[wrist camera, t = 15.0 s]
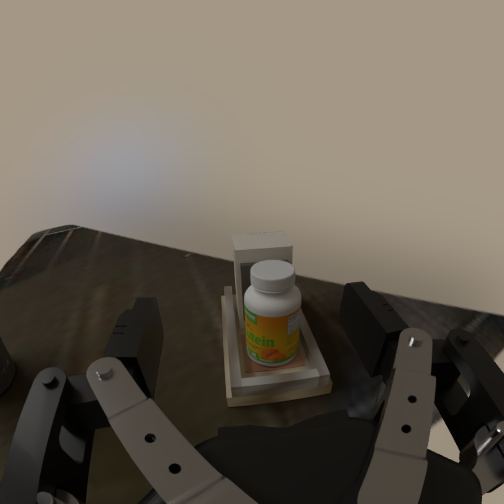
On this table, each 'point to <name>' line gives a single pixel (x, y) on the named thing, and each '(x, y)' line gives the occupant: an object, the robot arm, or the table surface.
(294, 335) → the supplement bottle
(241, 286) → the white padded block
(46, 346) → the table surface
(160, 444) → the robot arm
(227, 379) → the birch tray
